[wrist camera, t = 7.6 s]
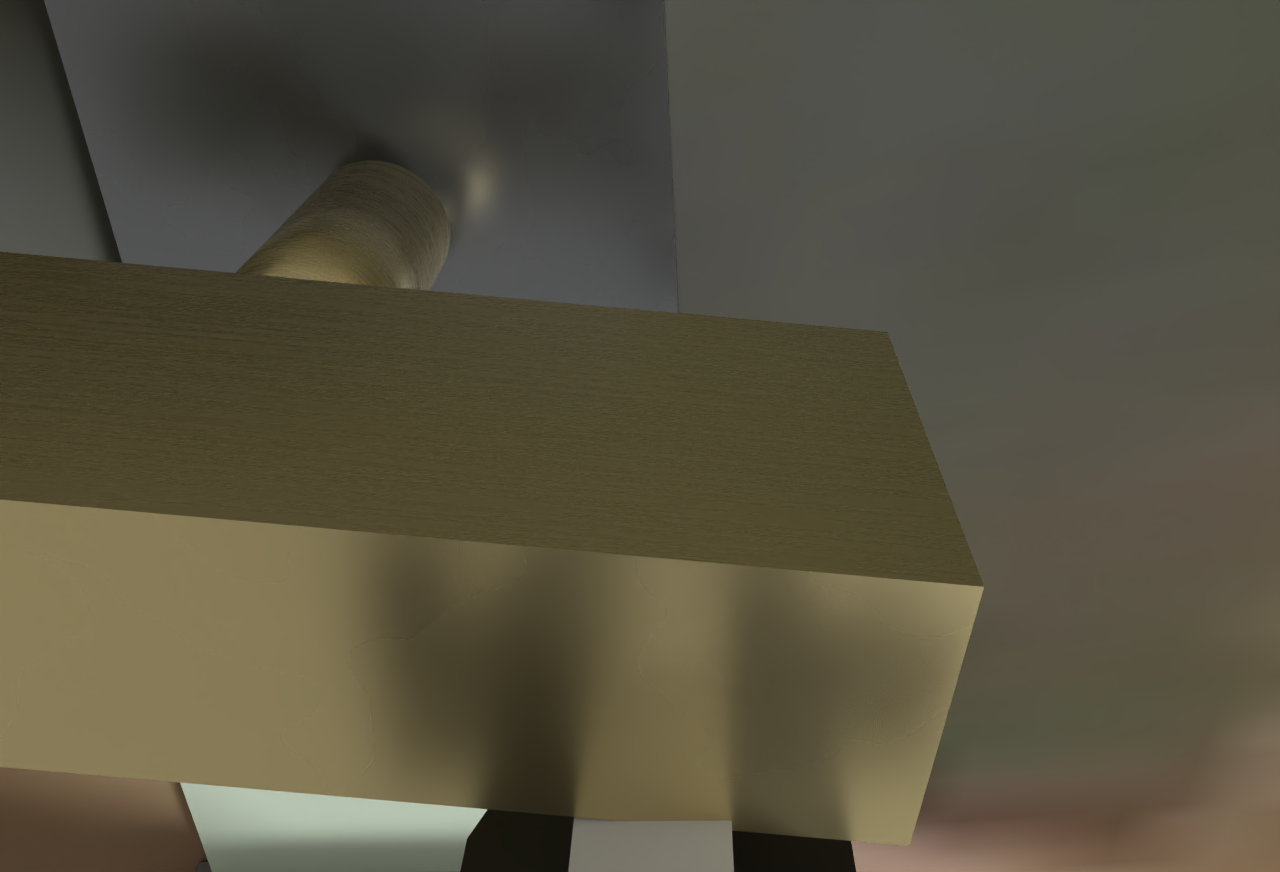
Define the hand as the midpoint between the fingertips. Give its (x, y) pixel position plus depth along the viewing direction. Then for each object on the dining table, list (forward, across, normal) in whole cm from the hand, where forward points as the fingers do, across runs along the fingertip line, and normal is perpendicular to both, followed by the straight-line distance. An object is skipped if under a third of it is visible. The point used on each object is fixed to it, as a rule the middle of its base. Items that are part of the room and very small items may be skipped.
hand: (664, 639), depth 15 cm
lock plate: (+8, -5, +4) cm, 10 cm away
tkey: (+7, -5, +3) cm, 9 cm away
